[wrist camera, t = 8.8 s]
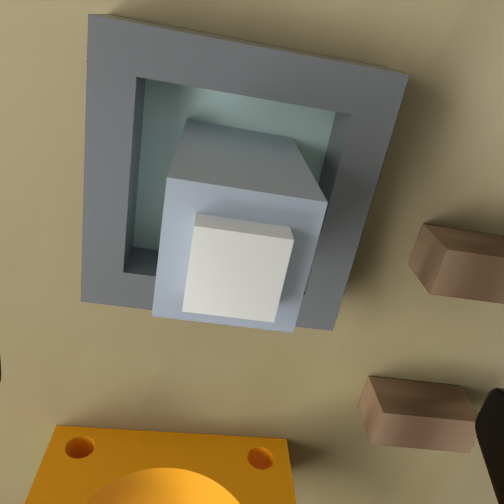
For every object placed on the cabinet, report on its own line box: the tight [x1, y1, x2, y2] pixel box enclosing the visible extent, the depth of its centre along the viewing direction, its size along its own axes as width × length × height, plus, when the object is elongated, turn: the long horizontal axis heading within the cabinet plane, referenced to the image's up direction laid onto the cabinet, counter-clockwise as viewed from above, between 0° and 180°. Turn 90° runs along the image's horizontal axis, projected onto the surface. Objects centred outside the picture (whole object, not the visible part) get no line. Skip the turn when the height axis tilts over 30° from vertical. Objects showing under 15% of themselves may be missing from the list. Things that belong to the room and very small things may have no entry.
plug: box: [152, 119, 328, 333], centre depth 15 cm, size 4×4×8 cm
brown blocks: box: [358, 224, 504, 453], centre depth 22 cm, size 5×10×2 cm, turn 170°
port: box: [81, 14, 409, 331], centre depth 18 cm, size 10×10×3 cm
